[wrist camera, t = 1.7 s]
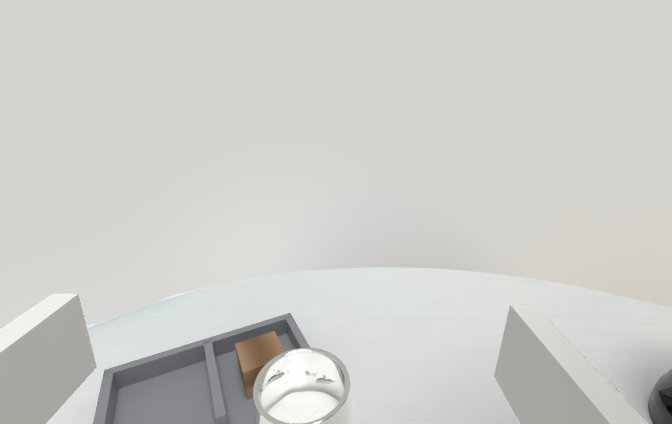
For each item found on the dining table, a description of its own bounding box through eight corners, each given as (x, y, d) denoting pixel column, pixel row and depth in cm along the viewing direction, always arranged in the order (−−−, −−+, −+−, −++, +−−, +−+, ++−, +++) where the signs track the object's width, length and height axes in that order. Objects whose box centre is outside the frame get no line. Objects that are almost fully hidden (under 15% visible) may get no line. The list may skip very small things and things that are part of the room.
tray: (291, 329, 50) (290, 312, 49) (331, 404, 38) (330, 384, 37) (110, 389, 41) (104, 370, 40) (89, 511, 29) (79, 489, 28)
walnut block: (277, 355, 45) (274, 330, 43) (289, 383, 40) (286, 357, 39) (239, 368, 43) (234, 343, 41) (247, 399, 38) (243, 372, 37)
